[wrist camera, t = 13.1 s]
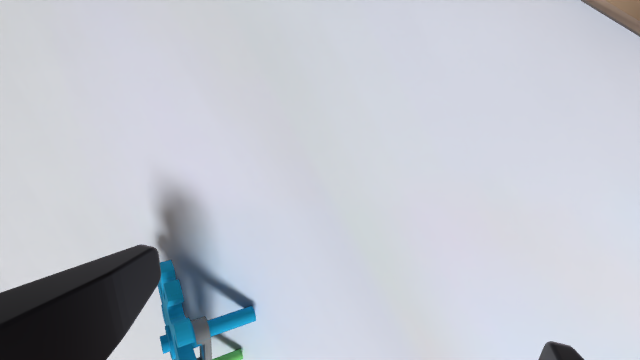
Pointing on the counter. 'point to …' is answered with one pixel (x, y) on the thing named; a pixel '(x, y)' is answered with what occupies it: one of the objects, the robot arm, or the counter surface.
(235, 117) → the counter surface
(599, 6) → the socket block
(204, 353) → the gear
